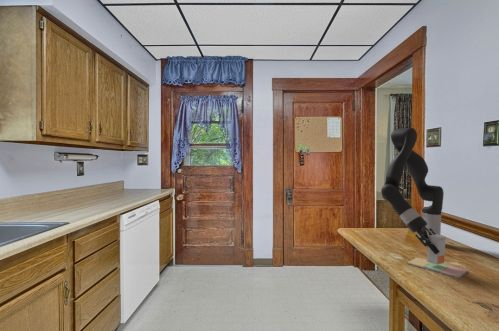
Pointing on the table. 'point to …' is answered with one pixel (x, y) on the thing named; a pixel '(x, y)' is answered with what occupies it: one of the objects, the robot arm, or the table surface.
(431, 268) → the multicoloured flat board
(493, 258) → the table surface
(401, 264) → the table surface
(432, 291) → the table surface
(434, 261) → the skincare box
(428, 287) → the table surface
